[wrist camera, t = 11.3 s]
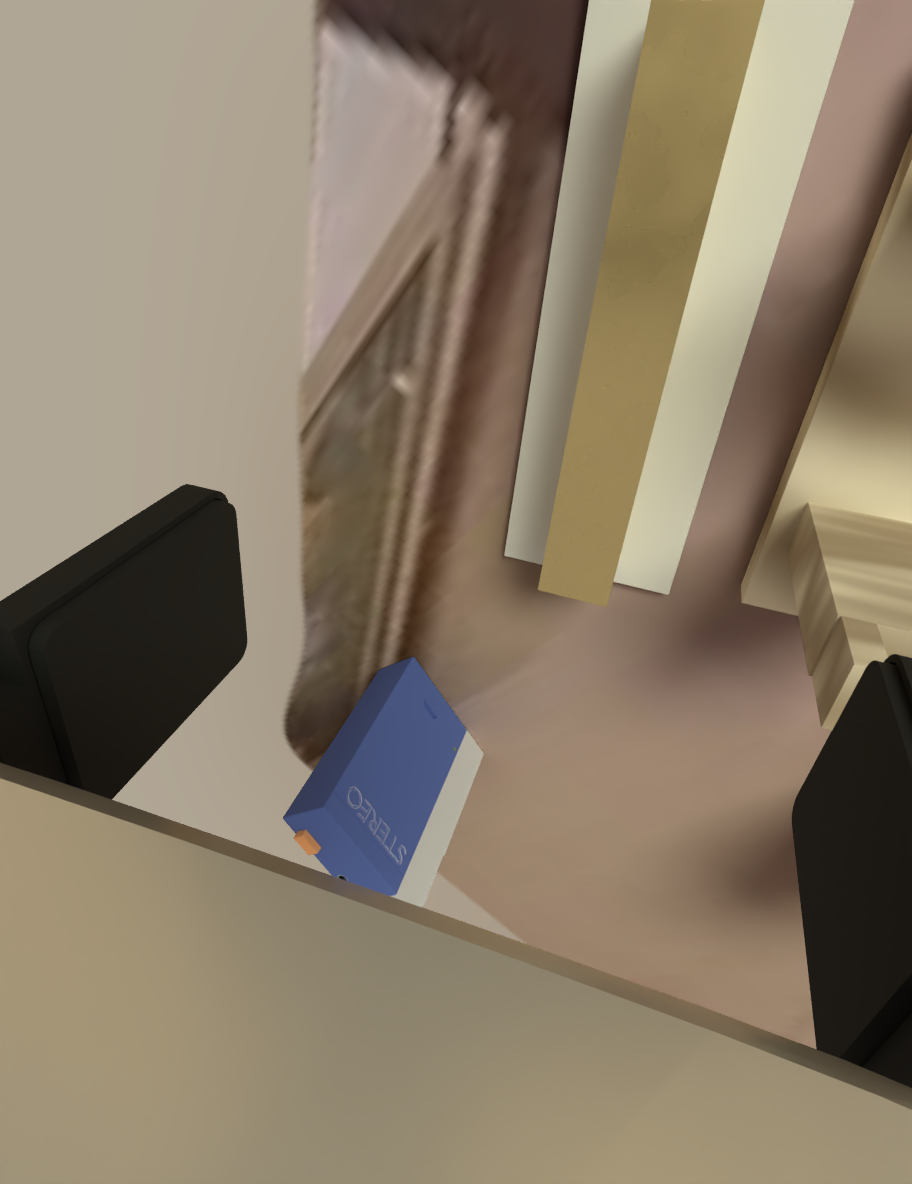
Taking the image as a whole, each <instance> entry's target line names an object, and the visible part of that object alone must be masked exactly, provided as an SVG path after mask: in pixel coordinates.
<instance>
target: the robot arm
mask: <svg viewBox="0 0 912 1184" xmlns="http://www.w3.org/2000/svg"><path fill="white" fill-rule="evenodd" d="M246 646H247V631H246V619H245V608H244V596H243V585H242V574H241V563H240V552H239V539H238V528H237V517H236V511H235V508H234V506H233V505H232V504H230V503H228V500H227V498H226V496H225V495H224V494H223V493H222V492H219V491H215V490H211V489H207V488H202V487H198V486H194V485H188V484H186V485H183V486H181V487H179V488H178V489H176V490H175V491H173V492H171V493H170V494H168V495H167V496H165V497H163V498H162V499H160V500H159V501H157V502H156V503H154V504H153V505H151V506H149V507H148V508H146V509H145V510H143V511H141V512H140V513H138V514H137V515H135V516H134V517H132V518H130V519H129V520H127V521H126V522H124V523H123V524H121V525H120V526H118V527H116V528H115V529H113V530H112V531H110V532H109V533H107V534H105V535H104V536H102V537H101V538H99V539H97V540H96V541H94V542H93V543H91V544H90V545H88V546H86V547H85V548H83V549H82V550H80V551H79V552H77V553H76V554H74V555H72V556H71V557H69V558H68V559H66V560H64V561H63V562H61V563H60V564H58V565H57V566H55V567H53V568H52V569H50V570H49V571H47V572H46V573H44V574H42V575H41V576H39V577H38V578H36V579H35V580H33V581H31V582H30V583H28V584H27V585H25V586H24V587H22V588H20V589H19V590H17V591H16V592H14V593H12V594H11V595H9V596H8V597H6V598H5V599H3V600H1V601H0V1184H912V658H910V657H906V656H902V655H898V654H892V655H890V656H889V657H888V658H887V659H886V660H885V661H884V662H880V661H876V660H874V661H871V662H870V663H869V664H868V666H867V667H866V669H865V670H864V672H863V674H862V676H861V678H860V680H859V682H858V683H857V685H856V687H855V689H854V691H853V693H852V695H851V696H850V698H849V700H848V702H847V704H846V706H845V708H844V709H843V711H842V713H841V715H840V717H839V719H838V721H837V722H836V724H835V726H834V728H833V730H832V732H831V734H830V735H829V737H828V739H827V741H826V743H825V745H824V747H823V748H822V750H821V752H820V754H819V756H818V758H817V760H816V761H815V763H814V765H813V767H812V769H811V771H810V773H809V774H808V776H807V778H806V780H805V782H804V784H803V786H802V787H801V789H800V791H799V793H798V795H797V797H796V799H795V803H794V806H793V812H792V828H793V837H794V846H795V855H796V865H797V874H798V883H799V892H800V901H801V910H802V919H803V928H804V937H805V946H806V956H807V965H808V974H809V983H810V992H811V1001H812V1010H813V1019H814V1028H815V1037H816V1047H817V1050H816V1049H814V1048H811V1047H808V1046H806V1045H803V1044H800V1043H798V1042H795V1041H792V1040H789V1039H787V1038H784V1037H781V1036H779V1035H776V1034H773V1033H771V1032H768V1031H765V1030H763V1029H760V1028H757V1027H755V1026H752V1025H749V1024H747V1023H744V1022H741V1021H738V1020H736V1019H733V1018H730V1017H728V1016H725V1015H722V1014H720V1013H717V1012H714V1011H712V1010H709V1009H706V1008H704V1007H701V1006H698V1005H696V1004H693V1003H690V1002H687V1001H685V1000H682V999H679V998H676V997H673V996H671V995H668V994H665V993H662V992H659V991H657V990H654V989H651V988H648V987H645V986H642V985H640V984H637V983H634V982H631V981H628V980H626V979H623V978H620V977H617V976H614V975H611V974H609V973H606V972H603V971H600V970H597V969H595V968H592V967H589V966H586V965H583V964H581V963H578V962H575V961H572V960H569V959H566V958H564V957H561V956H558V955H555V954H552V953H550V952H547V951H544V950H541V949H538V948H535V947H533V946H530V945H527V944H524V943H521V942H519V941H516V940H513V939H510V938H507V937H504V936H502V935H499V934H496V933H493V932H490V931H488V930H485V929H482V928H479V927H476V926H474V925H471V924H468V923H465V922H462V921H459V920H456V919H454V918H451V917H448V916H445V915H442V914H439V913H436V912H434V911H431V910H428V909H425V908H422V907H419V906H417V905H414V904H411V903H408V902H405V901H402V900H399V899H397V898H394V897H391V896H388V895H385V894H382V893H379V892H377V891H374V890H371V889H368V888H365V887H362V886H359V885H357V884H354V883H351V882H348V881H345V880H342V879H339V878H337V877H334V876H331V875H328V874H325V873H322V872H319V871H316V870H314V869H311V868H308V867H305V866H302V865H299V864H296V863H294V862H290V861H288V860H285V859H282V858H279V857H276V856H273V855H270V854H267V853H265V852H262V851H259V850H256V849H253V848H250V847H247V846H245V845H242V844H239V843H236V842H233V841H230V840H227V839H224V838H221V837H218V836H216V835H212V834H210V833H207V832H204V831H201V830H198V829H195V828H192V827H189V826H187V825H184V824H180V823H178V822H175V821H172V820H169V819H166V818H163V817H160V816H157V815H154V814H152V813H148V812H146V811H143V810H140V809H137V808H134V807H131V806H128V805H125V804H122V803H119V802H117V801H114V800H112V799H113V798H114V797H115V796H116V794H117V793H118V792H119V791H120V790H121V789H122V788H123V787H124V786H125V785H126V784H127V783H128V781H129V780H130V779H131V778H132V777H133V776H134V775H135V774H136V773H137V772H138V771H139V770H140V768H141V767H142V766H143V765H144V764H145V763H146V762H147V761H148V760H149V759H150V758H151V757H152V756H153V754H154V753H155V752H156V751H157V750H158V749H159V748H160V747H161V746H162V744H164V743H165V741H166V740H167V739H168V738H169V737H170V736H171V735H172V734H173V733H174V732H175V731H176V730H177V729H178V727H179V726H180V725H181V724H182V723H183V722H184V721H185V720H186V719H187V718H188V717H189V716H190V715H191V713H192V712H193V711H194V710H195V709H196V708H197V707H198V706H199V705H200V704H201V703H202V701H203V700H204V699H205V698H206V697H207V696H208V695H209V694H210V693H211V692H212V691H213V690H214V688H215V687H216V686H217V685H218V684H219V683H220V682H221V681H222V680H223V679H224V678H225V677H226V676H227V675H228V673H229V672H230V671H231V670H232V669H233V668H234V667H235V666H236V665H237V664H238V663H239V661H240V660H241V659H242V657H243V655H244V653H245V650H246Z"/></svg>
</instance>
